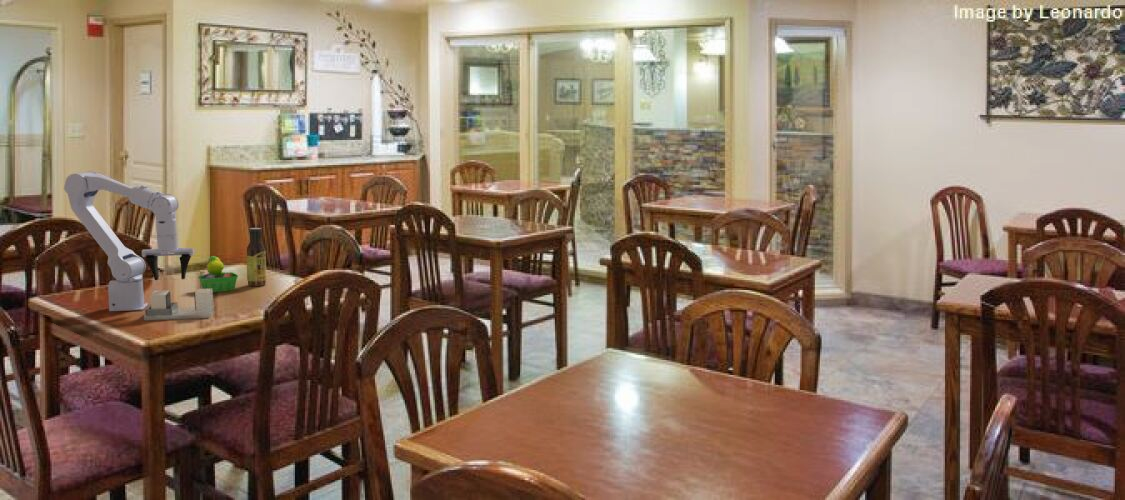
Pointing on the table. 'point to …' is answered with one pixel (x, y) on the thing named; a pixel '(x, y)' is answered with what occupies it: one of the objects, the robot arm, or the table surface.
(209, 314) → the grey boxy piece
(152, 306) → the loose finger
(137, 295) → the robot arm
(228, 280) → the fruit basket
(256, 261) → the sauce bottle
